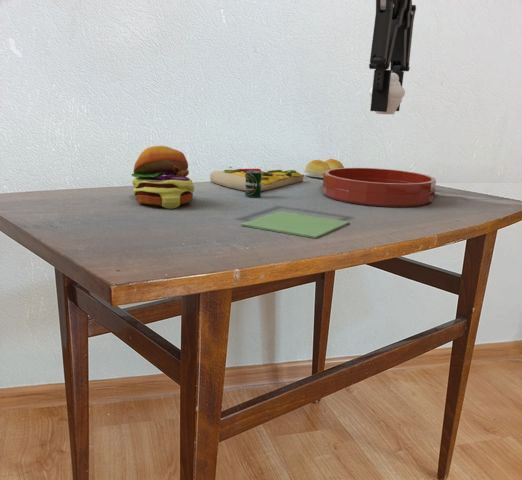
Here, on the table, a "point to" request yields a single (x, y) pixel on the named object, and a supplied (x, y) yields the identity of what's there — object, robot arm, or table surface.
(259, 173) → the beer can
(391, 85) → the muffin
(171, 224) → the table surface
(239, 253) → the table surface
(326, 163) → the bread roll
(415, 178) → the pan
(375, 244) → the table surface
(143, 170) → the cheeseburger
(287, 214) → the cloth
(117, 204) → the table surface
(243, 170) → the pizza slice
